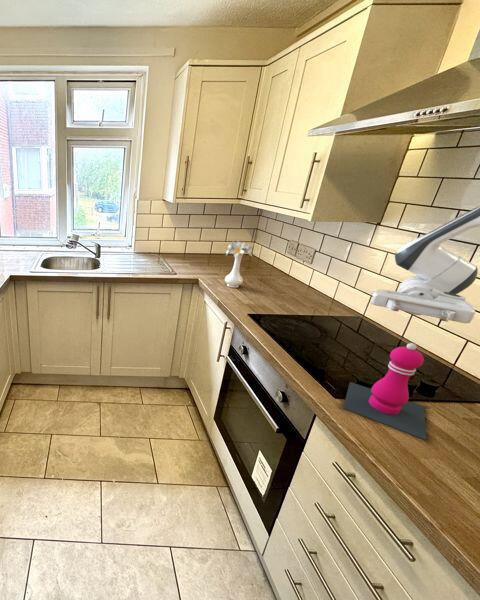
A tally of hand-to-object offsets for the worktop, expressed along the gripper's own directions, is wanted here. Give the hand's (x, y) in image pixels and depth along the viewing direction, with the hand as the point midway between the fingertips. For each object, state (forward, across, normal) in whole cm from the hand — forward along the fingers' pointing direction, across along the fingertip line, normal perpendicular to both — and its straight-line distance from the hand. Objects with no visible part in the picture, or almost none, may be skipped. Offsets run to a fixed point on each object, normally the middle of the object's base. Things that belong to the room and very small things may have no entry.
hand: (419, 313), depth 85 cm
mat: (+12, 0, +25) cm, 27 cm away
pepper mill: (+12, 0, +25) cm, 27 cm away
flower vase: (-62, -67, +24) cm, 94 cm away
